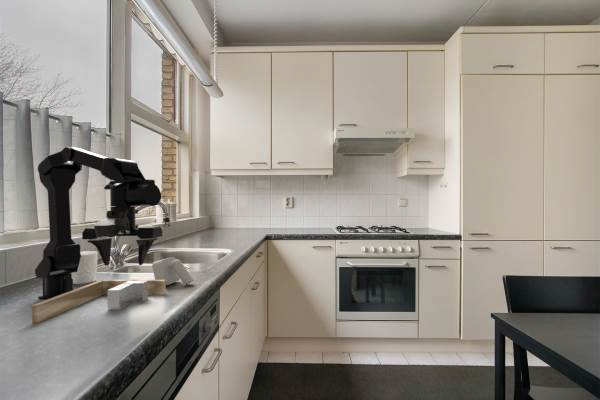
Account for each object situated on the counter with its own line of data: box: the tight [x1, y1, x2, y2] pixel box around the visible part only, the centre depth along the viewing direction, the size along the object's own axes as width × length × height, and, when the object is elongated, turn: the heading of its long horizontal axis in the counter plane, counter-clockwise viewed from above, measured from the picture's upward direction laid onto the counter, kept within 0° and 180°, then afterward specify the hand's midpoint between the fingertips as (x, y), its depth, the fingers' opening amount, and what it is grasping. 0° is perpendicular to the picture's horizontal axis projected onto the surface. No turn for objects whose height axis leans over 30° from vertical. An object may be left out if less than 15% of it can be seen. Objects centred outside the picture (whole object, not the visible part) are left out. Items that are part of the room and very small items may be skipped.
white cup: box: [72, 250, 99, 285], centre depth 107 cm, size 8×8×10 cm
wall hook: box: [151, 256, 194, 286], centre depth 102 cm, size 8×10×10 cm
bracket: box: [107, 281, 149, 311], centre depth 83 cm, size 9×6×5 cm, turn 178°
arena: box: [31, 279, 167, 324], centre depth 81 cm, size 20×23×4 cm
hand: (123, 265), depth 82 cm, fingers open, 9 cm apart
